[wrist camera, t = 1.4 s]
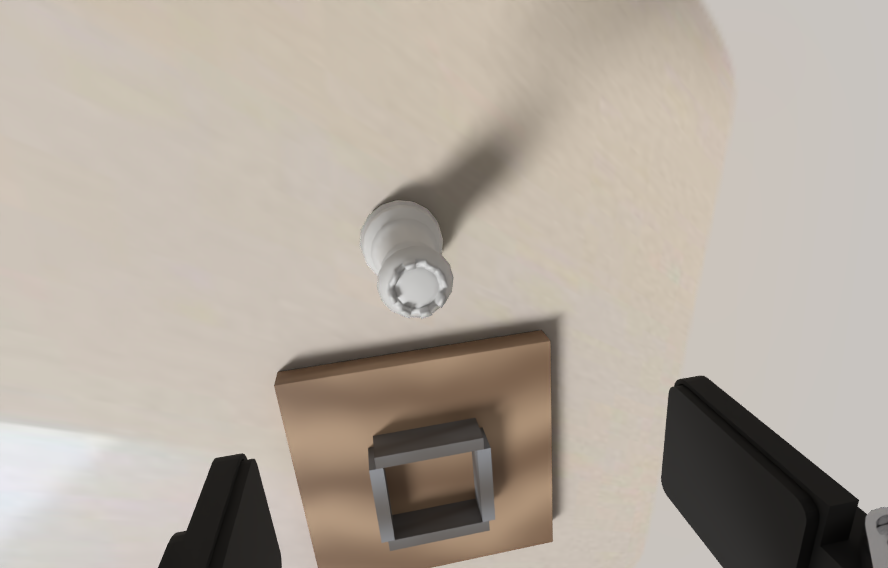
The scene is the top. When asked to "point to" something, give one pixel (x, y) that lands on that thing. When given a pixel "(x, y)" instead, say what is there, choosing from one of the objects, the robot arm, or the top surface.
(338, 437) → the jig board
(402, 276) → the rook chess piece
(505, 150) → the top surface
